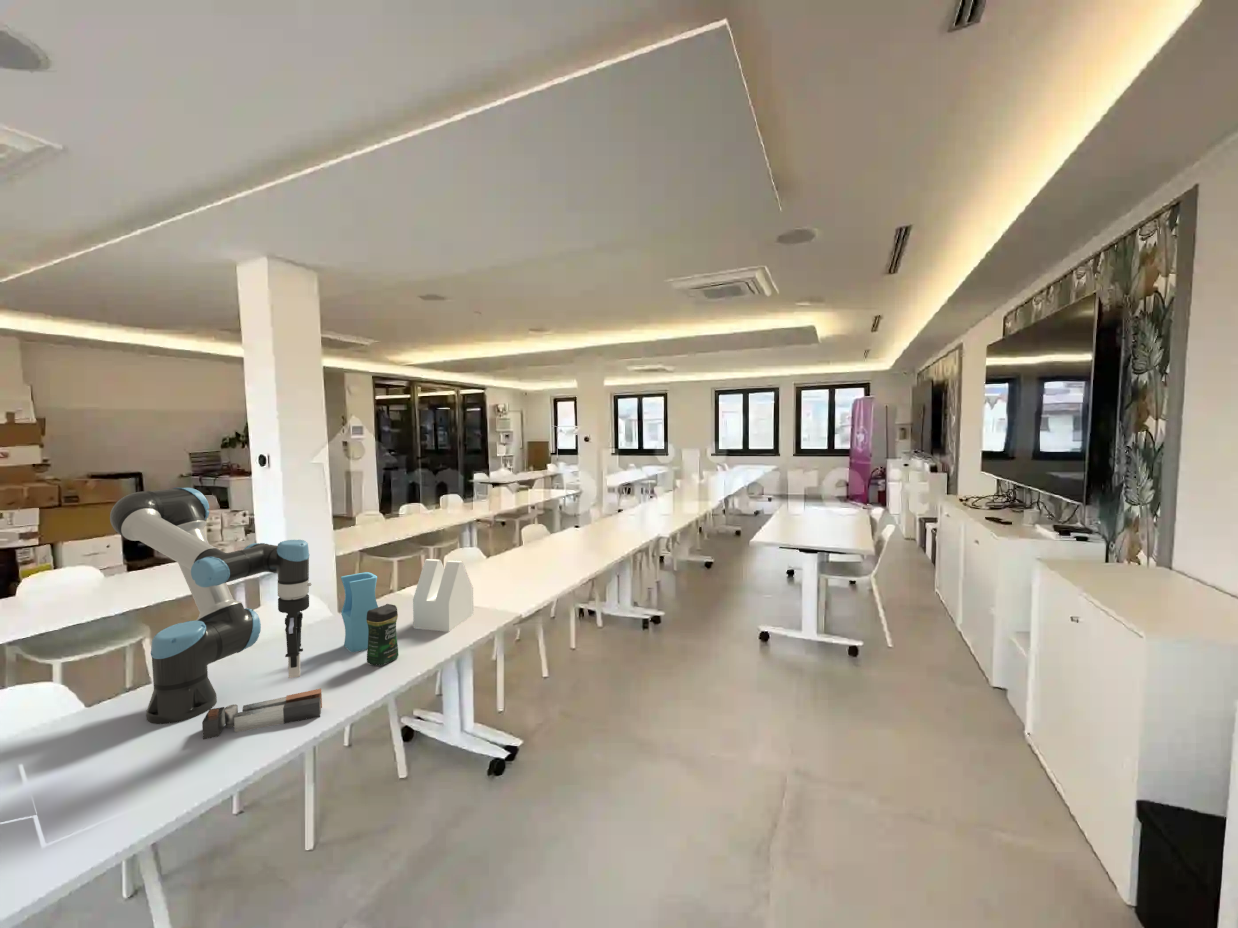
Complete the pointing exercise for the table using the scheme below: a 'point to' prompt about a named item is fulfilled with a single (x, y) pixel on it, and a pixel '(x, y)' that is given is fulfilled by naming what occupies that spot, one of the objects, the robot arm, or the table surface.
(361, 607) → the vase
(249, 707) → the tongs arm
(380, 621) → the coffee jar
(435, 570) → the white slotted block
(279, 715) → the tongs fixed
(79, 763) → the table surface
